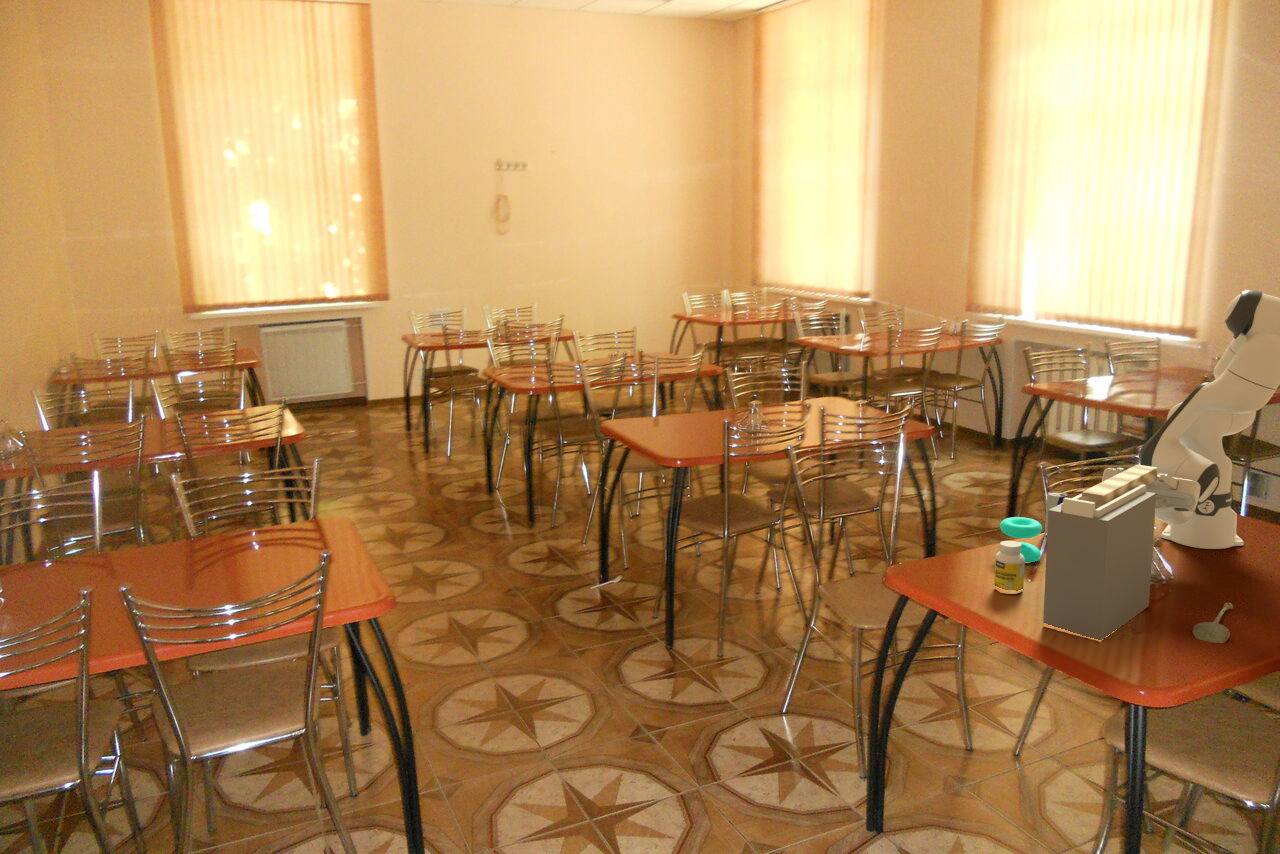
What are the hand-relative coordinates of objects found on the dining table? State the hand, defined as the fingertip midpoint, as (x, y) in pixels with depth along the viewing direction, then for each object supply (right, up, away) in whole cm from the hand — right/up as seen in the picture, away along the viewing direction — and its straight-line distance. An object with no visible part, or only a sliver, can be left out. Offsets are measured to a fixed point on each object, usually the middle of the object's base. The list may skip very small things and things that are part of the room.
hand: (1140, 474), depth 220 cm
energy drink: (0, -19, +45) cm, 49 cm away
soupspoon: (+9, -32, -14) cm, 36 cm away
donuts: (-16, -23, +29) cm, 41 cm away
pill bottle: (-27, -28, +8) cm, 40 cm away
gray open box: (-14, -31, -8) cm, 35 cm away
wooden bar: (-8, -4, -7) cm, 12 cm away
